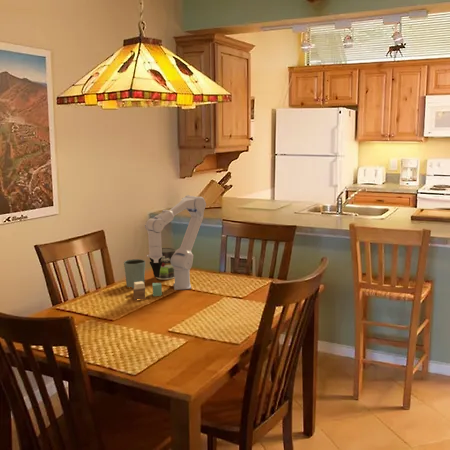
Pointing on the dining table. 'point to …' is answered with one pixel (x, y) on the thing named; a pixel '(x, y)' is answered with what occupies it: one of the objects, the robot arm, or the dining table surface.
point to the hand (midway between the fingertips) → (156, 274)
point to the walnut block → (139, 293)
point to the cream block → (139, 285)
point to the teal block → (157, 289)
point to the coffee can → (166, 264)
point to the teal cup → (134, 271)
